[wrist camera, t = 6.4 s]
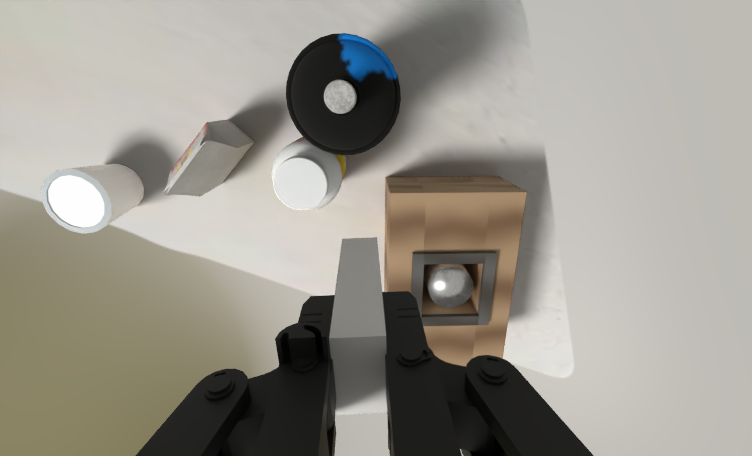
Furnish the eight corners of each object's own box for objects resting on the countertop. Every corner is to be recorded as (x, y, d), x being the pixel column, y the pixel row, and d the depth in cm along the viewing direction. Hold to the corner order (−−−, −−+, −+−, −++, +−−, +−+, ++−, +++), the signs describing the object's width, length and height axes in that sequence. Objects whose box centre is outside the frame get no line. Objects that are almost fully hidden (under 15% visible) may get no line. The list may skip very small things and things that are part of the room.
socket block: (385, 177, 44) (390, 194, 35) (498, 176, 44) (529, 193, 36) (384, 329, 51) (387, 372, 43) (481, 327, 51) (503, 370, 43)
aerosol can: (369, 147, 42) (373, 185, 23) (303, 117, 41) (252, 131, 22) (399, 79, 40) (431, 60, 21) (331, 44, 39) (300, -9, 20)
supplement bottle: (342, 129, 42) (334, 141, 29) (350, 184, 44) (345, 216, 32) (285, 135, 42) (253, 150, 29) (296, 191, 44) (270, 225, 32)
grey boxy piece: (254, 141, 42) (222, 153, 32) (221, 183, 43) (181, 207, 34) (228, 119, 41) (187, 125, 31) (195, 163, 42) (146, 181, 33)
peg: (419, 241, 47) (430, 268, 39) (457, 240, 47) (475, 267, 39) (417, 275, 48) (427, 308, 41) (454, 275, 48) (471, 307, 41)
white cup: (129, 150, 42) (85, 159, 35) (160, 203, 44) (124, 221, 37) (77, 169, 42) (24, 181, 35) (110, 221, 44) (66, 242, 38)
